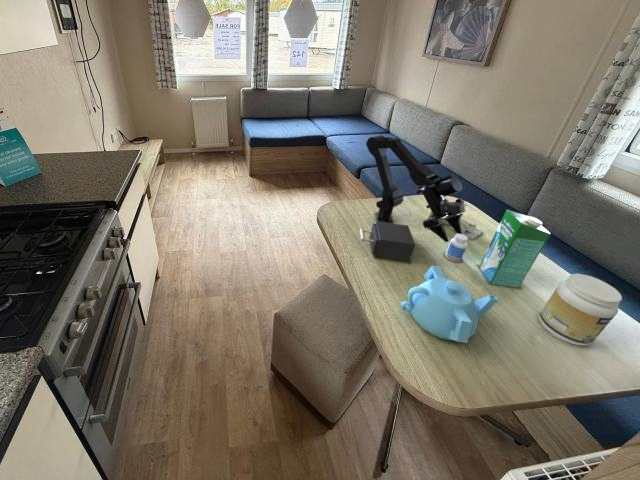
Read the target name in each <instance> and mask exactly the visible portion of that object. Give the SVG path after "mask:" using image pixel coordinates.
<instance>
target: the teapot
mask: <svg viewBox="0 0 640 480" xmlns="http://www.w3.org/2000/svg"><path fill="white" fill-rule="evenodd" d="M498 302H499V298H498V297H497V295H492V294H488V295H485V296H483V297H481V298H479V299H477V300H474V298H473V296H472V294H471V292H470V291H469V290H468V289H467V288H466V287H465V286H464V285H462V284H461V283H459V282H457V281H456V280H453V279H450V278H446V276H445V274H444V271H443V269H442V268H441V266H440V265H431V266H430V267H429V268H428V270H426V272H425V273H424V282H422V283H421V284H419V285H418V286H414V287H411V288H410V289H409V290H408V293H407V301H406V300H404V301H402V302H401V304H400V308H401V310H403V311H404V312H407V313H409V312H410V314H411V316H412V318H413V319H414V320H415V322H416V323H417V325H419V326H420V328H422V329H423V330H424V331H426V332H427V333H429V334H431V335H432V336H434V337H436V338H439V339H442V340H448V341H455V342H458V343H463V344H468V342H469V338H471V337H472V336H473V335H475V333H476V331H477V327H478V322H479V321H480V319H481V318H482V317H484V316H485V314H486V313H487V312H488V311H489V310H491V308H493V307H494V305H496V304H497V303H498Z"/></svg>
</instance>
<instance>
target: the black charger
mask: <svg viewBox="0 0 640 480" xmlns="http://www.w3.org/2000/svg"><path fill="white" fill-rule="evenodd" d="M375 224H376V227H377V232H378V235H379V244H378V247H377V251H376V255H374V258H375V259H383V260H388V261H394V262H399V263H406V264H410V262H411V260H412V259H411V258H412V255H413V253H414V250H415V246H416V243H415V240H414V237H413V235H412V232H411V230H410V226H409V225H407V224H401V223H393V222H392V223H391V222H384V221H378V220H376V221H375Z"/></svg>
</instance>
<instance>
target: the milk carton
mask: <svg viewBox="0 0 640 480" xmlns="http://www.w3.org/2000/svg"><path fill="white" fill-rule="evenodd" d="M543 224H544V223H543V222H542V221H541V220H540V219H538V218H536V217H534V216H531V215H525V214H522V213H519V212H517V211H513V210H511V209H506V210H505V213H503V216H502V218H501V220H500V222H499V224H498V226H497V229H496V230H495V233H494V235H493V237H492V238H491V241H490V243H489V245H488V247H487V249H486V251H485V253H484V255H483V257H482V259H481V262H480V264H479V268H480V270H481V271H482V273H483V274H484V276H485V278H486V279H487V281H488V282H489V284H491V285H498V286H505V287H513V288H520V287H521V285H522V284H523V282H524V280H525V279H526V277H527V275H528V273H529V272H530V270H531V269H532V267H533V265H534V263H535V262H536V260H537V258H538V257H539V255H540V253H541V251H542V249H543V248H544V246H545V244H546V243H547V242H548V239H549V238H550V236H551V232H549V230H547V229H546V227H544V226H543Z"/></svg>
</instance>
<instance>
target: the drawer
mask: <svg viewBox="0 0 640 480" xmlns="http://www.w3.org/2000/svg"><path fill="white" fill-rule="evenodd" d="M370 228H371V229H370V230H366V229H363V228H360V229H359V235H360V241H361V242H363V243H364V242H370V249H371V254H372V255H373V256H375V255H376V251H377V247H378V244H379V235H378V232H377V227H376V223H372V225H371V227H370ZM365 233H368V234H369V238H366V237H365Z"/></svg>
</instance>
